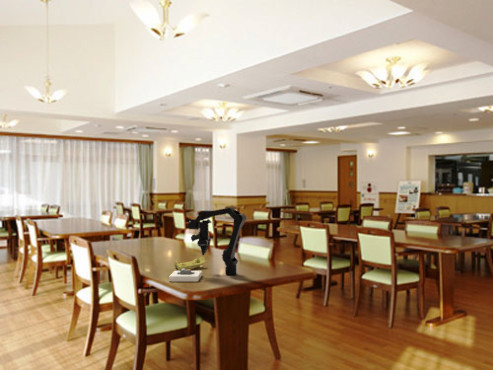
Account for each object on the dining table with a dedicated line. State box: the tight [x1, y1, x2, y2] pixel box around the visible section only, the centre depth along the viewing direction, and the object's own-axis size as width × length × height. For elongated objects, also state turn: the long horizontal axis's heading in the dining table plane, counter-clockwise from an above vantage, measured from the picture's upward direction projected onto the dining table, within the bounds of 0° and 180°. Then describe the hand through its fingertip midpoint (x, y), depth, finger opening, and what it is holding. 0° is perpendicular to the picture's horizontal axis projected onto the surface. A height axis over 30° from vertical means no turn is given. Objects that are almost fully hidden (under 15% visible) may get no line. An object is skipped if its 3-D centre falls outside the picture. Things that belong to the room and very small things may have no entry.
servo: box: [177, 269, 195, 274], centre depth 253 cm, size 10×4×6 cm, turn 88°
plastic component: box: [173, 255, 206, 271], centre depth 285 cm, size 20×7×10 cm
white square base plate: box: [168, 270, 203, 282], centre depth 253 cm, size 17×16×3 cm
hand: (204, 253), depth 270 cm, fingers open, 9 cm apart
